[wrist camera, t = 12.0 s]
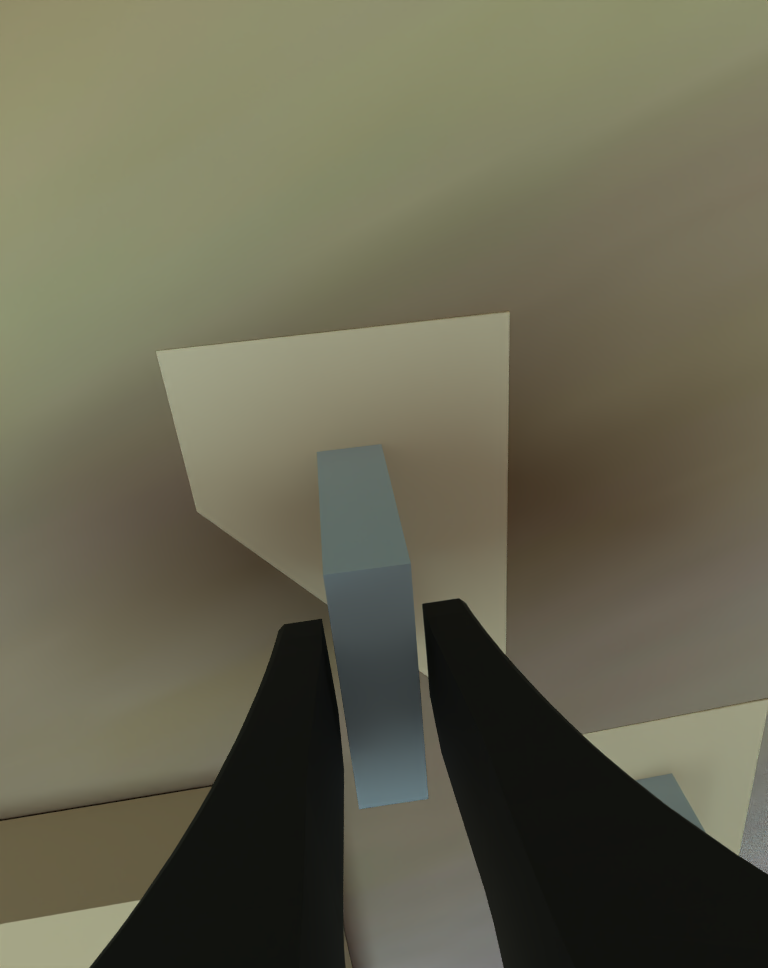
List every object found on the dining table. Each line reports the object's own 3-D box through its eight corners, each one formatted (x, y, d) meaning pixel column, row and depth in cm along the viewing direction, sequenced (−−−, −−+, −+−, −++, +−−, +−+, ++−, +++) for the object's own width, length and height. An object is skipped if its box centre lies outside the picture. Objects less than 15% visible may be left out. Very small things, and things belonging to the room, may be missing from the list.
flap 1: (499, 686, 17) (558, 853, 13) (255, 721, 16) (242, 903, 12) (501, 304, 12) (594, 392, 8) (161, 342, 12) (95, 450, 8)
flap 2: (720, 890, 22) (806, 1047, 18) (542, 925, 22) (592, 1091, 18) (758, 685, 18) (882, 838, 14) (533, 727, 17) (597, 894, 14)
